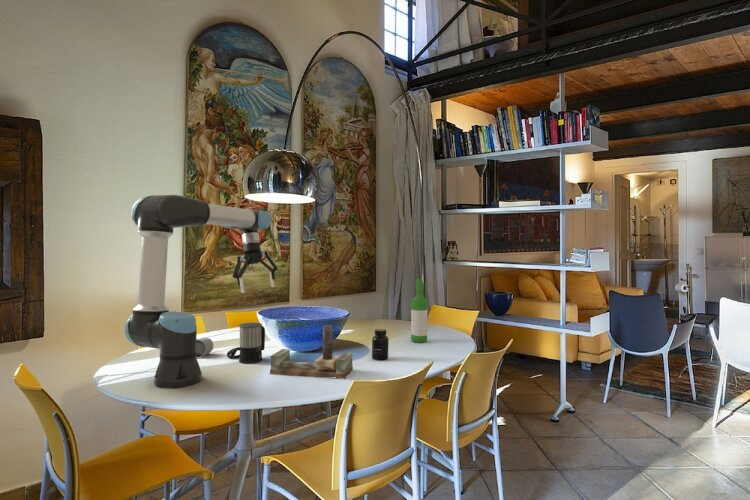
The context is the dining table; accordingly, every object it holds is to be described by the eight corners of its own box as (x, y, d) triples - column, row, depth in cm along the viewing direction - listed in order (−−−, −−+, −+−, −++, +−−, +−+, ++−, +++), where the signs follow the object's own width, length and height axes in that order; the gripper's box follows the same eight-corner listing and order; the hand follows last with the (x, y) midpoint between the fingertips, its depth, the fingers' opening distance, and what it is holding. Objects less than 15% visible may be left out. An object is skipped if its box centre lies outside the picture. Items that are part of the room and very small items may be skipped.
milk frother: (259, 364, 183) (259, 326, 183) (219, 364, 183) (219, 326, 183) (267, 355, 198) (267, 320, 197) (230, 355, 197) (230, 320, 197)
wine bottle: (419, 338, 230) (419, 278, 229) (430, 341, 224) (430, 279, 223) (407, 341, 225) (408, 279, 225) (419, 343, 219) (419, 280, 219)
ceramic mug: (214, 353, 200) (214, 335, 199) (206, 358, 191) (205, 339, 191) (191, 353, 201) (190, 335, 200) (181, 358, 193) (181, 339, 192)
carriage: (340, 365, 175) (340, 324, 175) (333, 371, 166) (333, 328, 166) (322, 364, 177) (322, 323, 176) (314, 370, 168) (314, 327, 167)
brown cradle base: (352, 369, 176) (352, 352, 176) (344, 378, 164) (344, 360, 164) (283, 365, 182) (283, 348, 181) (270, 373, 170) (269, 356, 170)
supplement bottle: (374, 361, 188) (374, 331, 187) (370, 357, 194) (370, 328, 194) (390, 360, 190) (390, 330, 189) (385, 356, 196) (385, 327, 196)
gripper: (280, 240, 214) (287, 285, 211) (227, 250, 215) (233, 295, 211) (276, 236, 207) (283, 283, 203) (221, 247, 207) (227, 294, 203)
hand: (258, 289), depth 207 cm, fingers open, 13 cm apart
